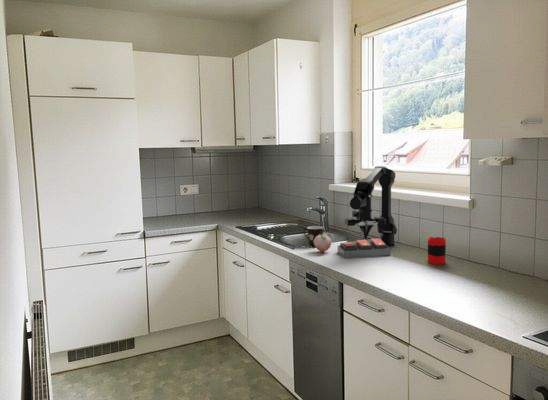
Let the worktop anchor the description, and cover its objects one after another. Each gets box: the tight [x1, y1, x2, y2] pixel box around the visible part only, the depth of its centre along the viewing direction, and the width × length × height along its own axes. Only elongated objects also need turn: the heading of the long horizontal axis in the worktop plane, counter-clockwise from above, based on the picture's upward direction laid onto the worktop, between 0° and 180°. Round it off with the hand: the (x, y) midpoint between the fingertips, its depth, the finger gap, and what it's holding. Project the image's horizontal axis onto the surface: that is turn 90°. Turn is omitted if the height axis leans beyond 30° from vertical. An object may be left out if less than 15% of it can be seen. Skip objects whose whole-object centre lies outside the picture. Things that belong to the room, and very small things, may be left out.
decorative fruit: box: [314, 232, 332, 253], centre depth 236 cm, size 9×8×10 cm
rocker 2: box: [370, 237, 385, 246], centre depth 231 cm, size 4×8×1 cm, turn 8°
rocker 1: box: [341, 242, 355, 246], centre depth 229 cm, size 4×8×1 cm, turn 7°
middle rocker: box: [356, 239, 371, 246], centre depth 230 cm, size 4×8×1 cm, turn 8°
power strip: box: [337, 240, 391, 259], centre depth 230 cm, size 23×12×5 cm, turn 98°
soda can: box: [427, 234, 447, 266], centre depth 211 cm, size 8×8×12 cm
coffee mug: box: [303, 225, 324, 248], centre depth 251 cm, size 12×9×10 cm
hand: (365, 238), depth 227 cm, fingers closed
